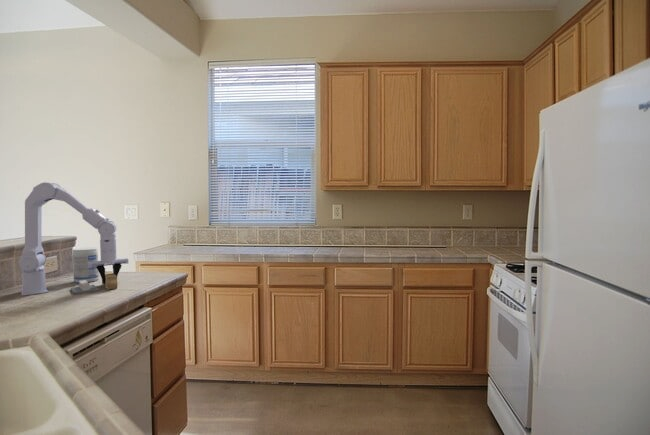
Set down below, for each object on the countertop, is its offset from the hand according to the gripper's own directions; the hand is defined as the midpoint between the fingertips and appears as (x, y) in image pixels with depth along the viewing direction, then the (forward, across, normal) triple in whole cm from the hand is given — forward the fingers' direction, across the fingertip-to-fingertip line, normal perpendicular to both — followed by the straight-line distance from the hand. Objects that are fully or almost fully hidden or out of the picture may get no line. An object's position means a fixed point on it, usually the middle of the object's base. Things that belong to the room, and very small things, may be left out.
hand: (109, 282), depth 156 cm
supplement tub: (+2, -6, +19) cm, 20 cm away
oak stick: (+2, 0, 0) cm, 2 cm away
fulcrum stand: (+2, -9, 0) cm, 9 cm away
